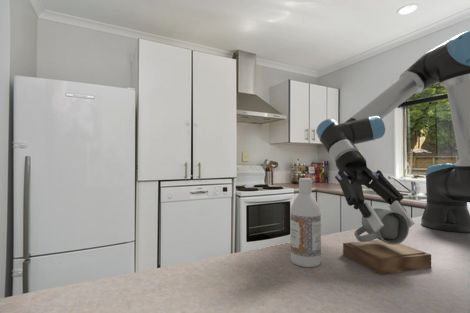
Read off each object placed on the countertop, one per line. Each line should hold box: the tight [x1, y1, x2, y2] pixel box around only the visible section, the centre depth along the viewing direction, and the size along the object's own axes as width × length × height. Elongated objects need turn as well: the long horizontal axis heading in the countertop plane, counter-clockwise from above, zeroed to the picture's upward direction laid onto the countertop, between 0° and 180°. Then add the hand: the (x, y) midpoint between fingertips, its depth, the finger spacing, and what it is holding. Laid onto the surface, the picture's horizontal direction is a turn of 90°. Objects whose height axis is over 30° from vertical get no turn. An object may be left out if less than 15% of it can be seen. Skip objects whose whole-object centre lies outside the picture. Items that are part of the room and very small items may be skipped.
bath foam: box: [290, 177, 322, 268], centre depth 61 cm, size 7×7×20 cm
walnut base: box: [342, 239, 432, 276], centre depth 62 cm, size 14×12×3 cm
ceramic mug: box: [354, 208, 410, 245], centre depth 63 cm, size 11×8×8 cm
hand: (394, 227), depth 59 cm, fingers closed on ceramic mug, 8 cm apart
